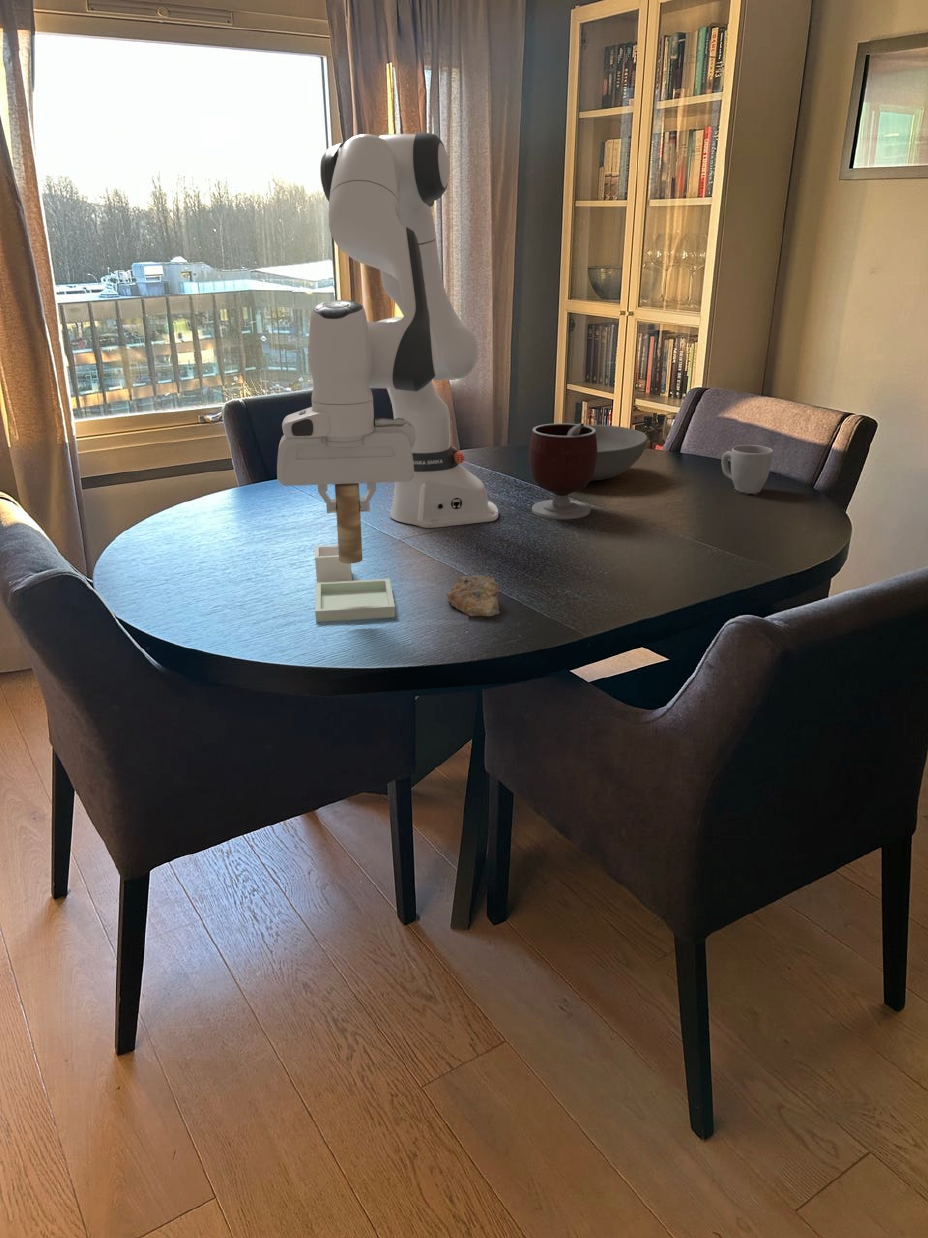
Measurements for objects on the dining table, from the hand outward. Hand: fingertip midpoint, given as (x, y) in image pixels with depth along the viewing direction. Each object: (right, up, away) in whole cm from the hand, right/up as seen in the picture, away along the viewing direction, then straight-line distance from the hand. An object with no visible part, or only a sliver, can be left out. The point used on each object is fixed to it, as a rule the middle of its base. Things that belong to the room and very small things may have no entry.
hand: (348, 511), depth 139 cm
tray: (0, -14, +6) cm, 16 cm away
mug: (+80, +13, +69) cm, 107 cm away
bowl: (+47, +18, +80) cm, 95 cm away
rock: (+19, -15, +7) cm, 25 cm away
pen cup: (-4, -10, +17) cm, 20 cm away
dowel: (0, -7, +3) cm, 8 cm away
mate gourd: (+38, +6, +54) cm, 66 cm away
